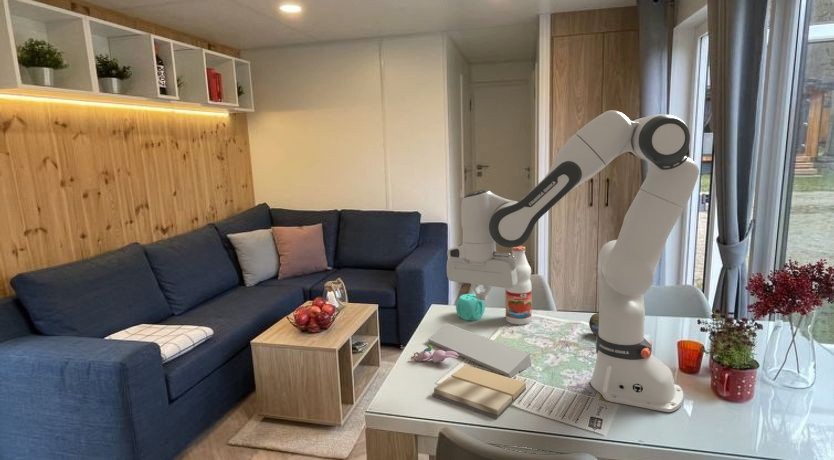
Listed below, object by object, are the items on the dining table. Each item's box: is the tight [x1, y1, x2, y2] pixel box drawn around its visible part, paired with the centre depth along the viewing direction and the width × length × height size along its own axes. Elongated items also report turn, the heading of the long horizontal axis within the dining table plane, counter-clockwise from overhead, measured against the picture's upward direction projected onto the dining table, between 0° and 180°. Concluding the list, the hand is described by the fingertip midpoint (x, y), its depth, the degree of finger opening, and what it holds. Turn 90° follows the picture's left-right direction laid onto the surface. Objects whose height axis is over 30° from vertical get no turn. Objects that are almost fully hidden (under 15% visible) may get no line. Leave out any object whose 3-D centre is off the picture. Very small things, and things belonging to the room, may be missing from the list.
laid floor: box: [432, 364, 527, 420], centre depth 129 cm, size 19×17×2 cm
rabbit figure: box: [410, 344, 460, 364], centre depth 148 cm, size 6×6×15 cm
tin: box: [588, 312, 599, 337], centre depth 159 cm, size 15×3×8 cm, turn 40°
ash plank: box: [433, 376, 512, 415], centre depth 126 cm, size 19×8×2 cm, turn 53°
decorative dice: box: [455, 293, 486, 322], centre depth 183 cm, size 8×8×8 cm
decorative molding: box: [427, 323, 532, 378], centre depth 152 cm, size 34×5×10 cm
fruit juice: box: [504, 245, 533, 326], centre depth 176 cm, size 9×9×28 cm
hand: (482, 299), depth 132 cm, fingers closed
